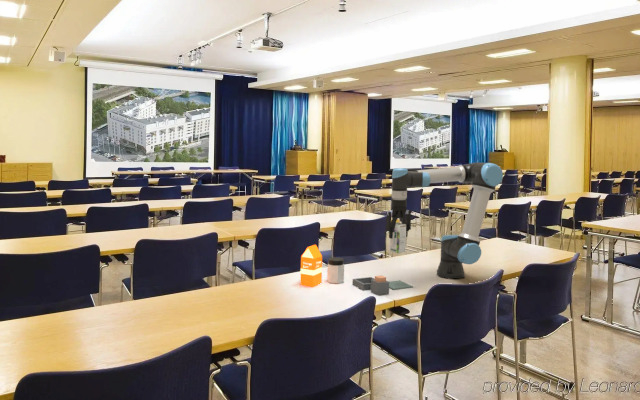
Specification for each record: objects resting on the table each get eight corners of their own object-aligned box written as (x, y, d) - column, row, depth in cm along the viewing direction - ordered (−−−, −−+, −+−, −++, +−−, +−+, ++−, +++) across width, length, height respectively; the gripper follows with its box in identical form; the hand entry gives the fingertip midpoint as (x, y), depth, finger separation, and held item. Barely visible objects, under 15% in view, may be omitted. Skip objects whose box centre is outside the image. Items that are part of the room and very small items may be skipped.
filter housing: (370, 282, 252) (371, 271, 252) (393, 293, 234) (393, 281, 233) (352, 284, 248) (352, 273, 247) (373, 295, 229) (373, 283, 229)
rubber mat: (399, 281, 256) (399, 280, 256) (413, 287, 245) (413, 286, 245) (380, 283, 251) (380, 282, 251) (393, 289, 240) (393, 288, 240)
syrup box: (389, 251, 247) (390, 223, 245) (397, 250, 250) (398, 222, 249) (397, 253, 242) (398, 224, 240) (406, 252, 246) (406, 223, 244)
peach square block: (381, 283, 237) (381, 275, 236) (385, 285, 233) (386, 277, 233) (374, 284, 235) (374, 276, 234) (378, 286, 231) (379, 278, 231)
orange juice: (321, 283, 249) (322, 245, 247) (313, 287, 241) (314, 247, 239) (308, 281, 253) (309, 243, 251) (300, 285, 245) (300, 246, 243)
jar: (324, 282, 250) (325, 259, 249) (329, 278, 258) (329, 256, 257) (341, 284, 248) (342, 261, 247) (345, 280, 256) (346, 258, 254)
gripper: (387, 200, 236) (385, 247, 238) (419, 199, 244) (418, 244, 246) (378, 198, 243) (377, 244, 245) (410, 197, 251) (409, 241, 253)
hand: (397, 244), depth 246 cm, fingers closed on syrup box, 6 cm apart
